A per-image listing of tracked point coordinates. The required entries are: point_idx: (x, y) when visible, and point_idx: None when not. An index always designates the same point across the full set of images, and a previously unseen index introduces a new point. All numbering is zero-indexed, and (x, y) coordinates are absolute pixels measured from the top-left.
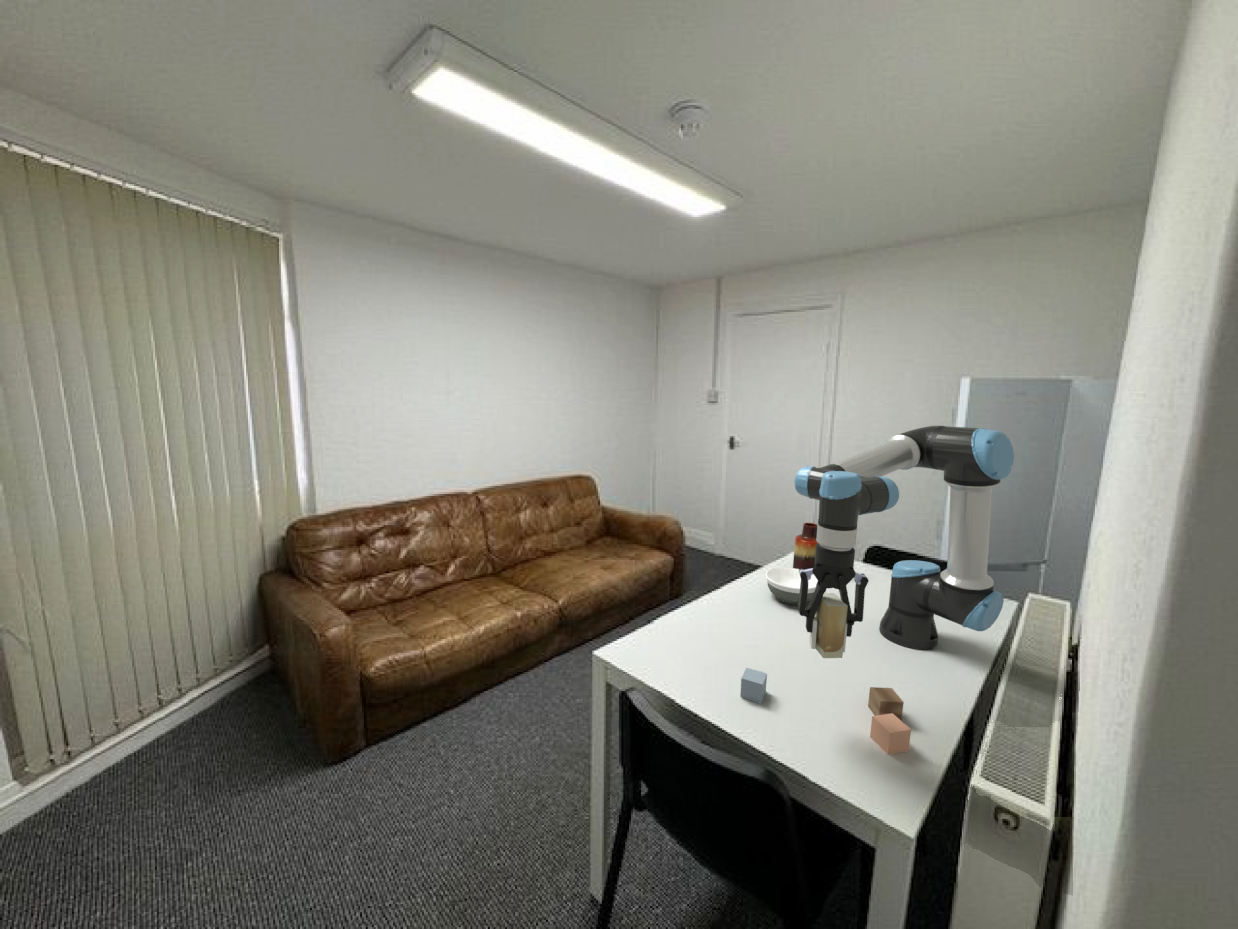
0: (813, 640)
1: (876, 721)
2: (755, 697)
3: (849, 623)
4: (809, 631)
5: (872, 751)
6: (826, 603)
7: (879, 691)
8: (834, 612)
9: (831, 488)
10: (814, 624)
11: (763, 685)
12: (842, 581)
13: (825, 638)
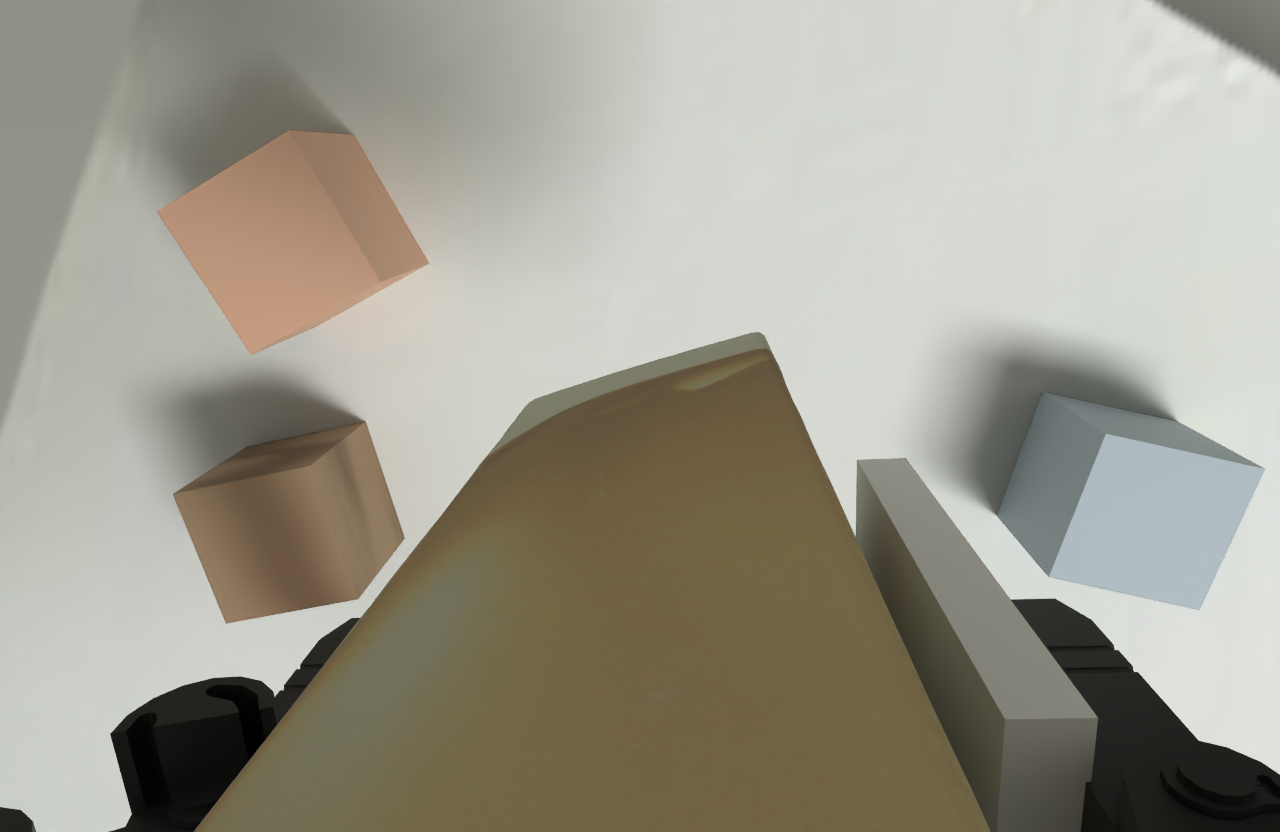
0: (919, 507)
1: (361, 243)
2: (1096, 408)
3: (255, 747)
4: (1026, 609)
5: (431, 135)
6: None
7: (304, 567)
8: (634, 818)
9: None
10: (1029, 663)
11: (1081, 456)
12: None
13: (790, 404)
